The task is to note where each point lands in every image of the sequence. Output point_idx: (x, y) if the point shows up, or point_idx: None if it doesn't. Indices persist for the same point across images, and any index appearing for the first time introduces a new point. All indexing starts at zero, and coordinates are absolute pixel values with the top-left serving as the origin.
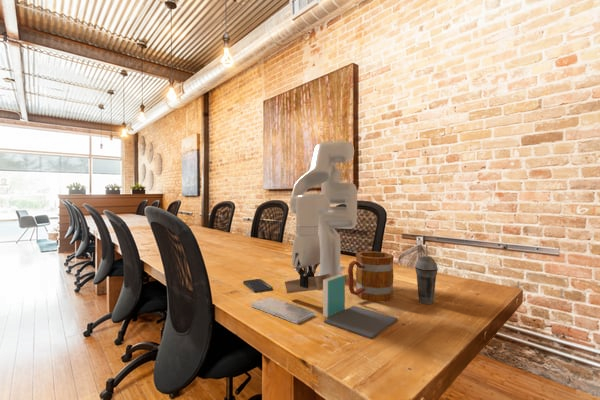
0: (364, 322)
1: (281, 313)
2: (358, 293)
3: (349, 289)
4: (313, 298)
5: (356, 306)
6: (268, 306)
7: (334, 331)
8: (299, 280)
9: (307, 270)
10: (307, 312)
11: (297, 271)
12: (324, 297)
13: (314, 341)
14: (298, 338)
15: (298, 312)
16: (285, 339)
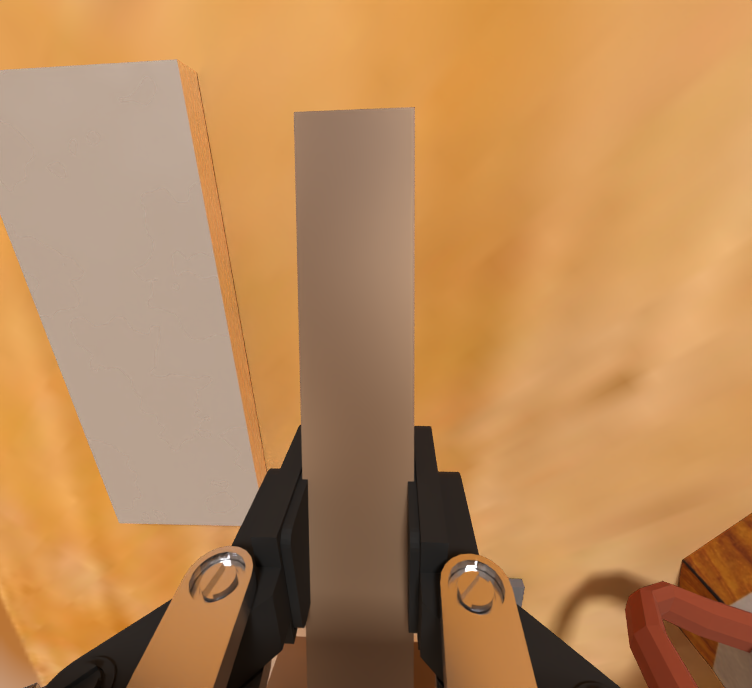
0: None
1: (86, 418)
2: (662, 618)
3: (642, 619)
4: (510, 335)
5: (520, 602)
6: (57, 266)
7: None
8: (305, 434)
9: (443, 595)
10: (225, 507)
11: (89, 658)
12: (272, 659)
13: (110, 617)
14: (69, 575)
15: (183, 475)
16: (19, 551)
